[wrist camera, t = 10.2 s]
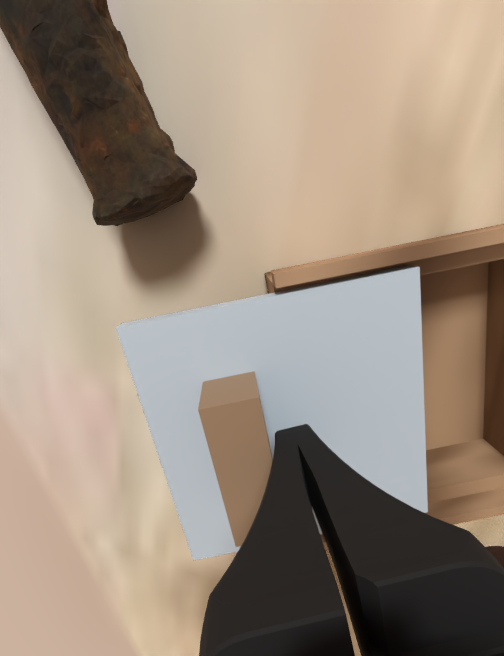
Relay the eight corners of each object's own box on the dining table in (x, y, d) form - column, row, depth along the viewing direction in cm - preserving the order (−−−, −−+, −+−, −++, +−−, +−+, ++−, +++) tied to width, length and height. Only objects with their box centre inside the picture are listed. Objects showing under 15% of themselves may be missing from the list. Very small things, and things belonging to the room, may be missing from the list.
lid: (410, 264, 12) (457, 274, 10) (420, 501, 16) (456, 553, 13) (121, 323, 12) (93, 347, 10) (194, 548, 16) (188, 609, 13)
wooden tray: (498, 215, 15) (587, 210, 11) (489, 449, 19) (553, 503, 15) (262, 262, 15) (273, 274, 11) (302, 487, 19) (321, 551, 15)
